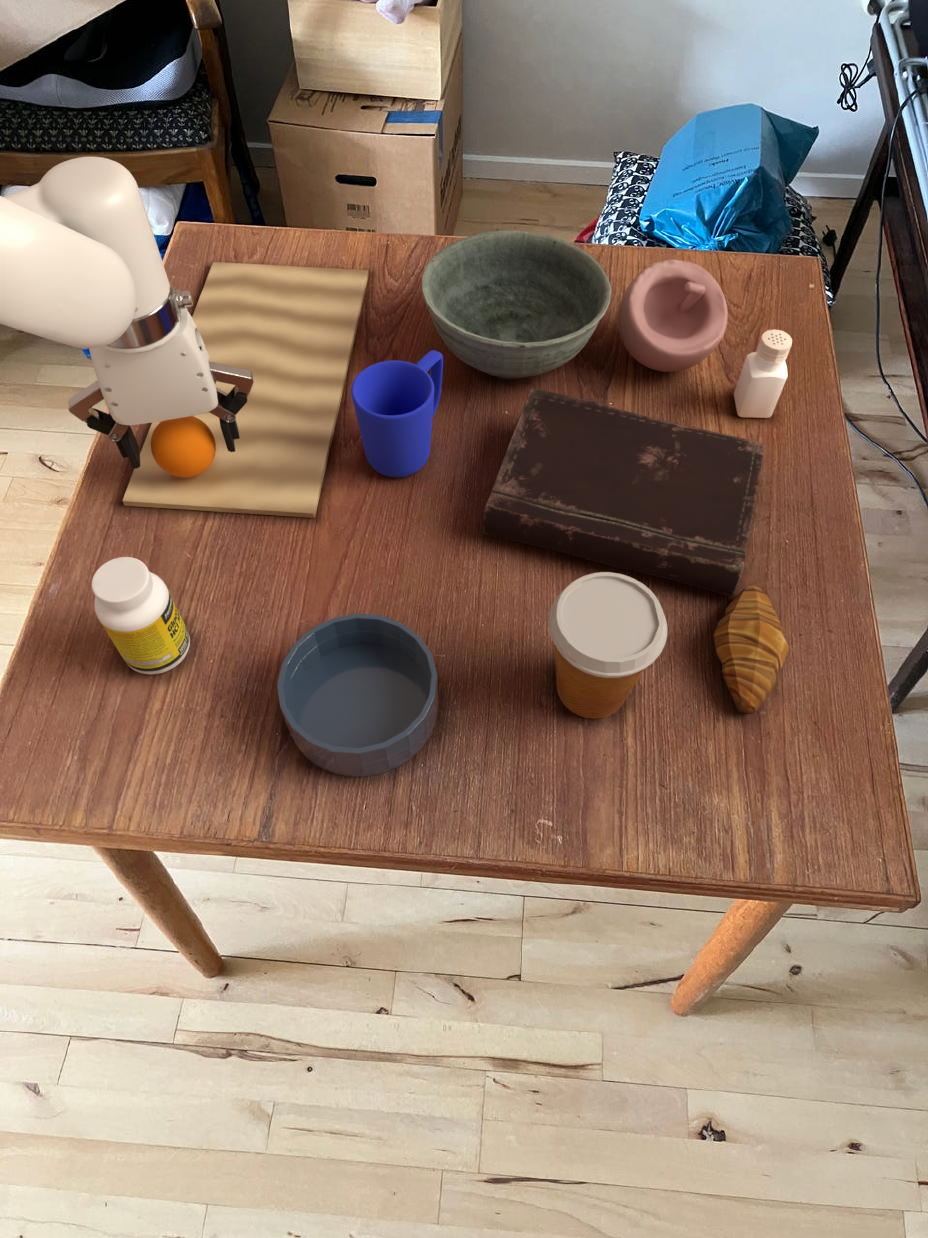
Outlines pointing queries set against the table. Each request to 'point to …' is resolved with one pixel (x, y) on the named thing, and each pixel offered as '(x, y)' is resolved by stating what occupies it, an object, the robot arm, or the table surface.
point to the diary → (627, 491)
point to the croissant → (750, 648)
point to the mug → (398, 412)
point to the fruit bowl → (359, 694)
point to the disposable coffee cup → (604, 640)
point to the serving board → (267, 389)
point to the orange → (183, 446)
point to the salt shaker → (763, 376)
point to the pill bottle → (139, 616)
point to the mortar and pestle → (672, 315)
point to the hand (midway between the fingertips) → (184, 450)
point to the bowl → (515, 301)
